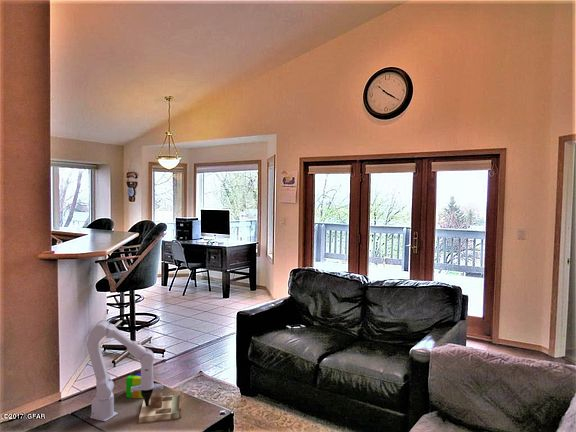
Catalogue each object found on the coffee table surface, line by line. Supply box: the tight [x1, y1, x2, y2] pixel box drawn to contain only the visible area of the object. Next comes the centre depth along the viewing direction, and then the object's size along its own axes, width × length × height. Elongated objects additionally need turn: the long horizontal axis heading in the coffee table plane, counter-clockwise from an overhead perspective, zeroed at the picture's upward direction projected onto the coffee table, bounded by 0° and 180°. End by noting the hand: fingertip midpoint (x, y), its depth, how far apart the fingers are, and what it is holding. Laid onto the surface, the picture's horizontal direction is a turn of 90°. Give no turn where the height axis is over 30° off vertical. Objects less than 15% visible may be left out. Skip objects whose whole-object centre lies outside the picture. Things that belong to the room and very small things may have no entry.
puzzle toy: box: [125, 370, 144, 399], centre depth 212 cm, size 10×10×10 cm
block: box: [150, 392, 163, 409], centre depth 194 cm, size 5×5×5 cm
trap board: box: [138, 390, 183, 423], centre depth 194 cm, size 18×19×4 cm
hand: (147, 405), depth 193 cm, fingers closed
